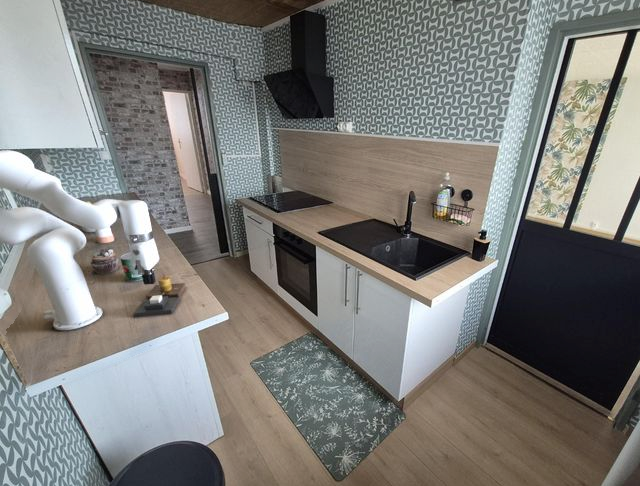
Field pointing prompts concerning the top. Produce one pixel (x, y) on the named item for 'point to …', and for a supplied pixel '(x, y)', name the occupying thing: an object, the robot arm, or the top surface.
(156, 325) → the top surface
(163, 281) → the yellow rounded cylinder
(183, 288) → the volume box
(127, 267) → the canned tomato
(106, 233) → the salt shaker
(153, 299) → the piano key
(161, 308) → the dark gray stepped base
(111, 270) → the cupcake
